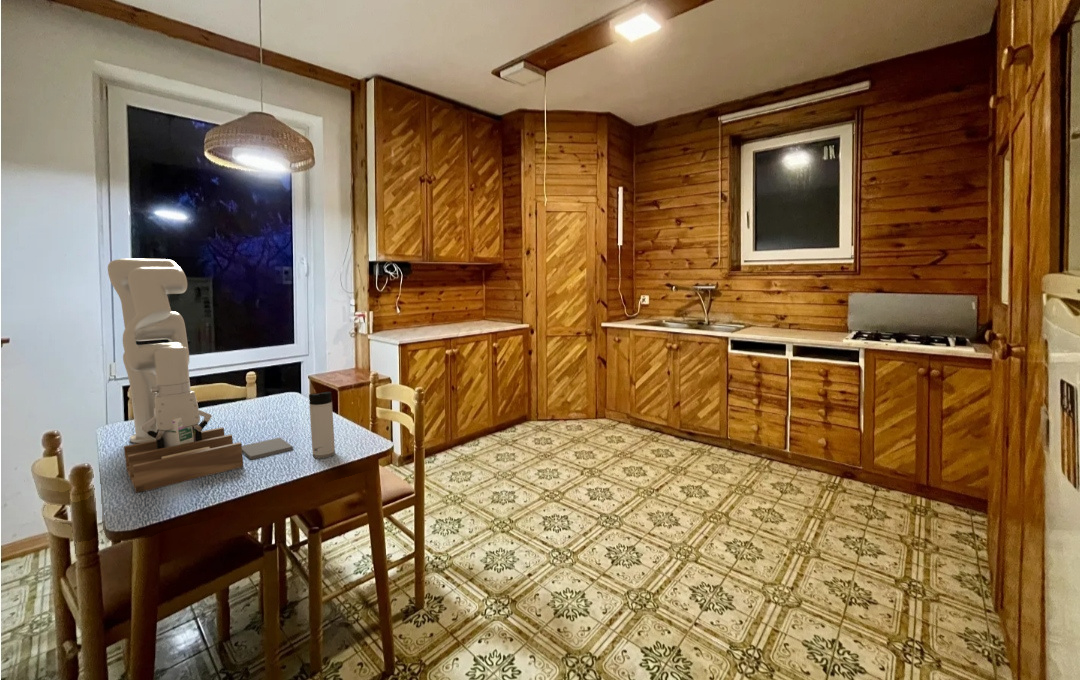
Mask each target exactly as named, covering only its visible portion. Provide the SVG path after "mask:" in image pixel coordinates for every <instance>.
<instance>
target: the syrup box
mask: <svg viewBox="0 0 1080 680" xmlns="http://www.w3.org/2000/svg"><path fill="white" fill-rule="evenodd" d="M181 419H182V418H175V419H173V430H168V431H165V432H164V434H163V435H162V438H163V439H164V448H166V447H171V446H176V445H181V444H186V443H191V442H196V433H195V428H194V427H193V426H190V427H183V425H182V420H181Z"/></svg>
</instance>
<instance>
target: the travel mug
mask: <svg viewBox="0 0 1080 680" xmlns="http://www.w3.org/2000/svg"><path fill="white" fill-rule="evenodd" d="M308 399H309V400H308V401H309V402H308V403H309V417H310V418H309V419H310V433H311V448H312V457H313V458H314V459H321V460H322V459H327V458H331V457H333V456H334V455H335V454H336V448H335V447H336V446H335V430H334V429H335V427H334V415H333V414H334V413H333V412H334V411H333V399H332V392H331V391H323V392H319V393H315V392H314V393H310V394H308Z"/></svg>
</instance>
